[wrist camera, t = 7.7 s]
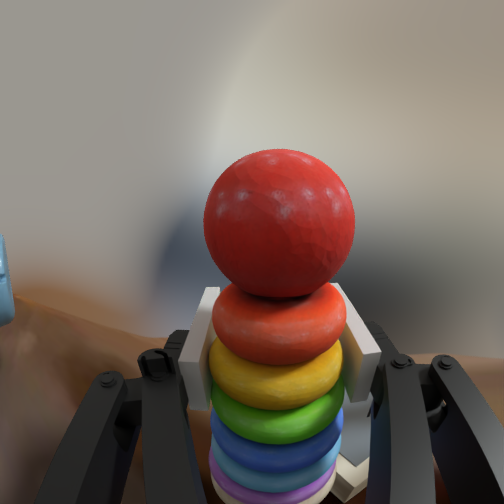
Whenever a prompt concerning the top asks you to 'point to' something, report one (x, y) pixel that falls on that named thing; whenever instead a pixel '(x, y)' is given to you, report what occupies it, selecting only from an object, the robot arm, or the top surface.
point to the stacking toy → (277, 327)
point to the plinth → (353, 449)
